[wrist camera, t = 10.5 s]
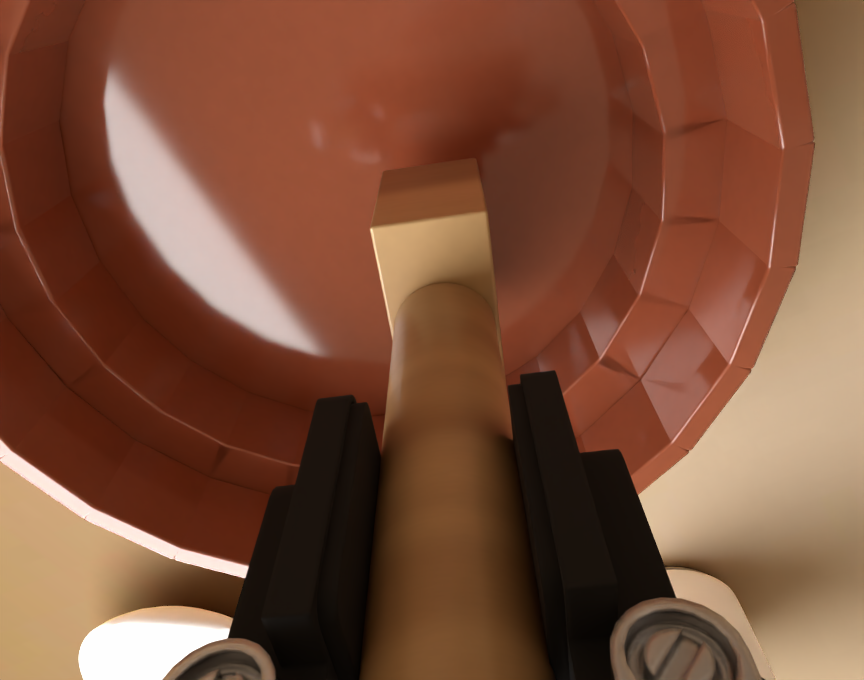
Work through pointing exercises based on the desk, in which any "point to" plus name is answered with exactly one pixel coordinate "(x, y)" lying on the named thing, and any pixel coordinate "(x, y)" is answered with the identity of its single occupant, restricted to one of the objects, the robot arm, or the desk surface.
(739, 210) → the bowl
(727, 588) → the can
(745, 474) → the desk surface
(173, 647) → the spoon
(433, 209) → the wooden stamp
